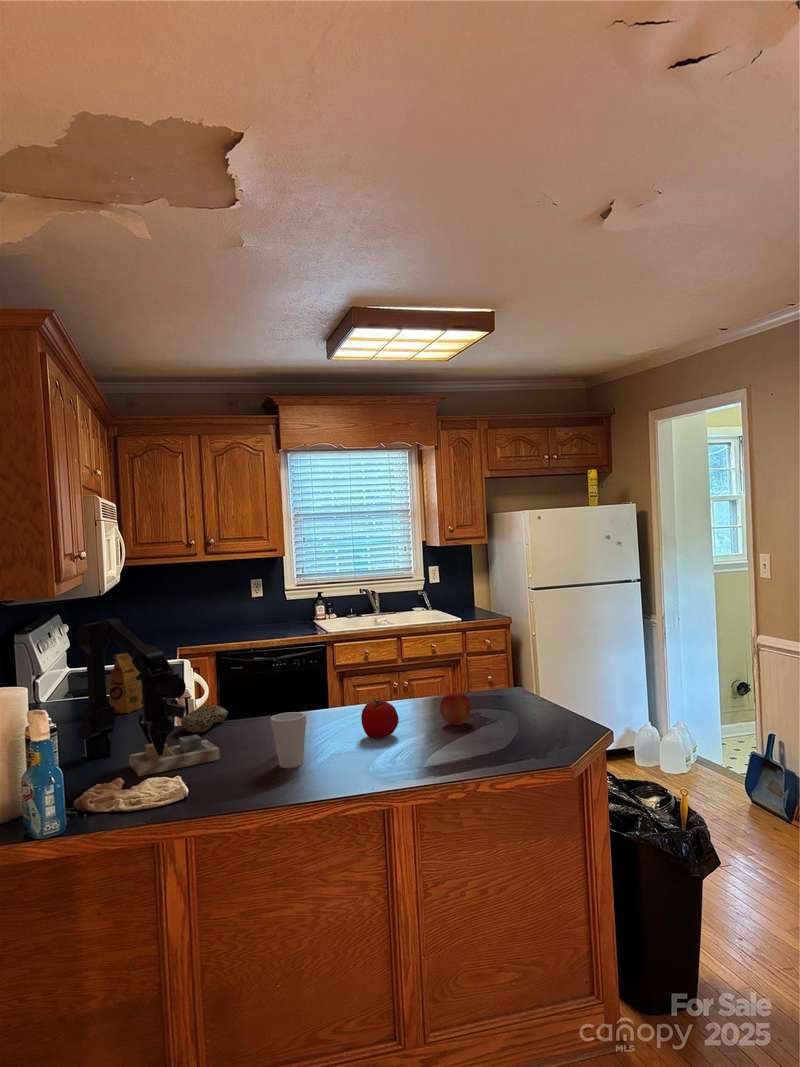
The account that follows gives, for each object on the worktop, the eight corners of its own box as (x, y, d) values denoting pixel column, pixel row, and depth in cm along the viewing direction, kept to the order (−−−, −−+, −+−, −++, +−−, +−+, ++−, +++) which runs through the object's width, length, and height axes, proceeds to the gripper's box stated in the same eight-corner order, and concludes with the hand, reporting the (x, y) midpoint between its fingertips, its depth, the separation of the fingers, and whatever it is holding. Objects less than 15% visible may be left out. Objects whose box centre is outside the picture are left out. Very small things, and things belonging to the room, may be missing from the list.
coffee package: (105, 714, 282) (101, 655, 282) (129, 706, 294) (125, 649, 294) (126, 715, 279) (122, 655, 278) (149, 706, 290) (145, 649, 290)
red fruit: (375, 730, 234) (372, 694, 234) (407, 733, 228) (404, 696, 228) (353, 741, 224) (350, 703, 224) (386, 744, 218) (383, 706, 218)
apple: (477, 725, 233) (475, 692, 233) (449, 730, 229) (447, 697, 229) (463, 718, 242) (461, 687, 242) (436, 723, 238) (434, 691, 238)
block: (150, 770, 208) (149, 748, 208) (146, 766, 213) (145, 744, 213) (169, 766, 211) (167, 744, 211) (164, 762, 215) (163, 741, 215)
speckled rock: (204, 724, 262) (164, 727, 245) (209, 701, 263) (170, 703, 246) (234, 733, 257) (196, 737, 239) (239, 710, 258) (201, 712, 240)
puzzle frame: (139, 776, 203) (137, 754, 203) (129, 765, 214) (128, 744, 214) (219, 759, 214) (218, 738, 214) (206, 749, 225) (205, 729, 225)
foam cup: (310, 757, 210) (307, 711, 210) (307, 768, 201) (304, 719, 201) (276, 760, 210) (272, 713, 210) (271, 771, 201) (268, 722, 200)
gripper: (190, 696, 208) (194, 753, 208) (173, 686, 224) (177, 739, 224) (149, 703, 202) (152, 761, 202) (134, 692, 218) (138, 746, 218)
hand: (156, 751), depth 212 cm, fingers open, 9 cm apart
